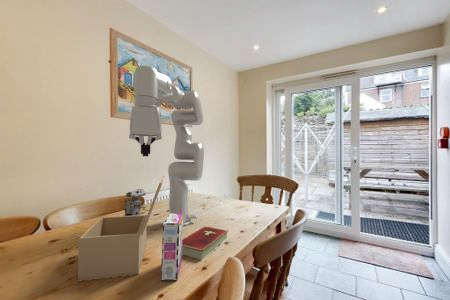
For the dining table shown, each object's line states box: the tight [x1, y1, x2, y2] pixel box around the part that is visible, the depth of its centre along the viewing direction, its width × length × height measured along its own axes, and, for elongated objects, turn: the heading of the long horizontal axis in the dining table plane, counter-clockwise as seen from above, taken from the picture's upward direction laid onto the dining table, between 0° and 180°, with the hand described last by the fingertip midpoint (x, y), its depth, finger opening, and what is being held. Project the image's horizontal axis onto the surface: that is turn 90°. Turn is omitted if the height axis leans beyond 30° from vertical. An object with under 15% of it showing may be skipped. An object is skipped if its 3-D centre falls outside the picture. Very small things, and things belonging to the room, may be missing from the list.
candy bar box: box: [160, 213, 184, 281], centre depth 67 cm, size 11×5×16 cm, turn 5°
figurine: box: [123, 188, 147, 216], centre depth 120 cm, size 9×12×15 cm
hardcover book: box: [182, 226, 229, 260], centre depth 85 cm, size 12×21×4 cm, turn 154°
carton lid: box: [140, 175, 165, 235], centre depth 75 cm, size 16×20×1 cm
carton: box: [77, 214, 148, 282], centre depth 72 cm, size 16×20×12 cm
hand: (145, 156), depth 75 cm, fingers closed
